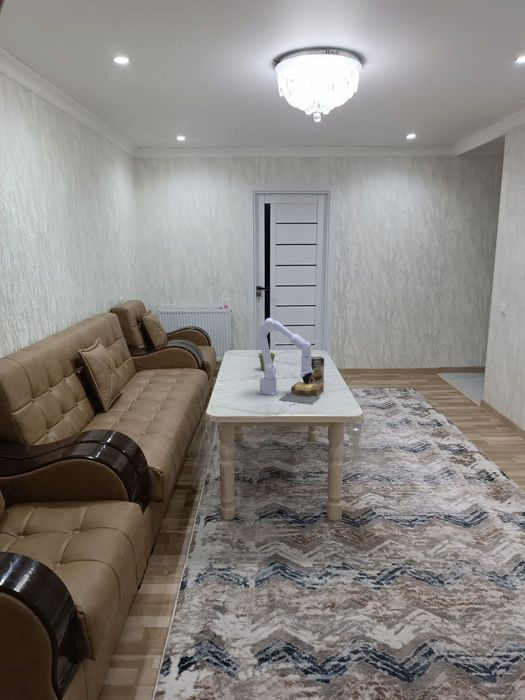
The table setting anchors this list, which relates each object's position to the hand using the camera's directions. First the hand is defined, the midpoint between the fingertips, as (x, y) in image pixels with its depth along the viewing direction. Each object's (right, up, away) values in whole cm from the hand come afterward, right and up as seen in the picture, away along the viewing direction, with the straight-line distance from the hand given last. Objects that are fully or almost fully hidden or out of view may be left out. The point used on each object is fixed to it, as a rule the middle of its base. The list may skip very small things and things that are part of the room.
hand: (306, 385), depth 299 cm
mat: (-5, -7, -9) cm, 12 cm away
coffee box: (+8, 0, +22) cm, 23 cm away
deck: (+1, -4, +3) cm, 5 cm away
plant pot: (-23, +7, +54) cm, 59 cm away
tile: (-1, -2, -3) cm, 4 cm away
